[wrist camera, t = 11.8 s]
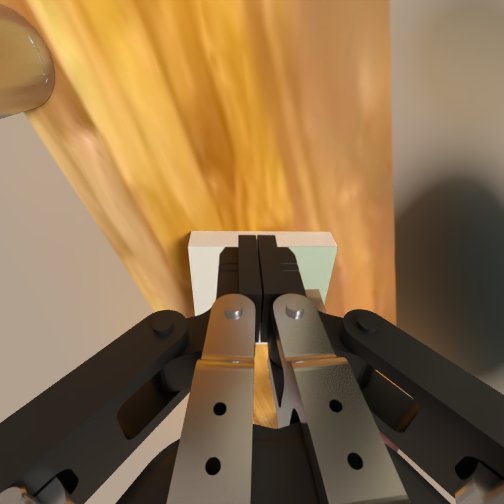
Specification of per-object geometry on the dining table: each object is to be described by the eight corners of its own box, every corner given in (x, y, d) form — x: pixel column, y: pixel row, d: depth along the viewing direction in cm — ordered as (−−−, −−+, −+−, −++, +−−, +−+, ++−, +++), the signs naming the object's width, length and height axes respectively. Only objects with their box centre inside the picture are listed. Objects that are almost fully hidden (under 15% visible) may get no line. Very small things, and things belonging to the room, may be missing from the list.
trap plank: (200, 326, 54) (198, 345, 51) (191, 230, 43) (187, 246, 40) (310, 325, 55) (314, 343, 52) (330, 231, 44) (337, 247, 41)
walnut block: (286, 311, 47) (290, 334, 44) (288, 289, 45) (293, 312, 41) (314, 310, 47) (321, 333, 44) (318, 289, 45) (326, 311, 41)
